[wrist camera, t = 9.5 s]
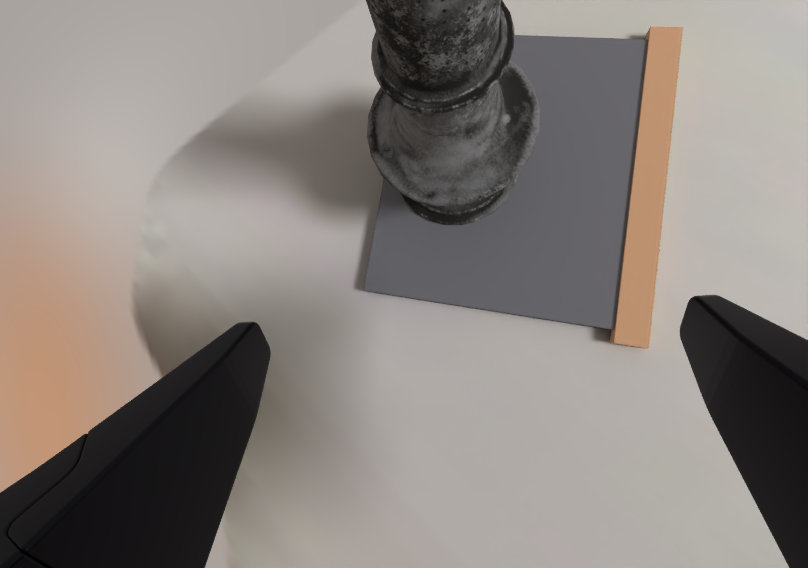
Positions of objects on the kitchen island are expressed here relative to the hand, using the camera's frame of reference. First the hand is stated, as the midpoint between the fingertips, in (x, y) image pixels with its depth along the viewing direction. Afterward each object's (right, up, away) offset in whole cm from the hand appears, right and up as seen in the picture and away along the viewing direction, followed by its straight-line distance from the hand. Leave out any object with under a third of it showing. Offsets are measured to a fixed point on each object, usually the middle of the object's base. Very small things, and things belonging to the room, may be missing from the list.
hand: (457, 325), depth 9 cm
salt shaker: (+1, +6, +9) cm, 11 cm away
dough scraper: (+3, +6, +9) cm, 11 cm away
